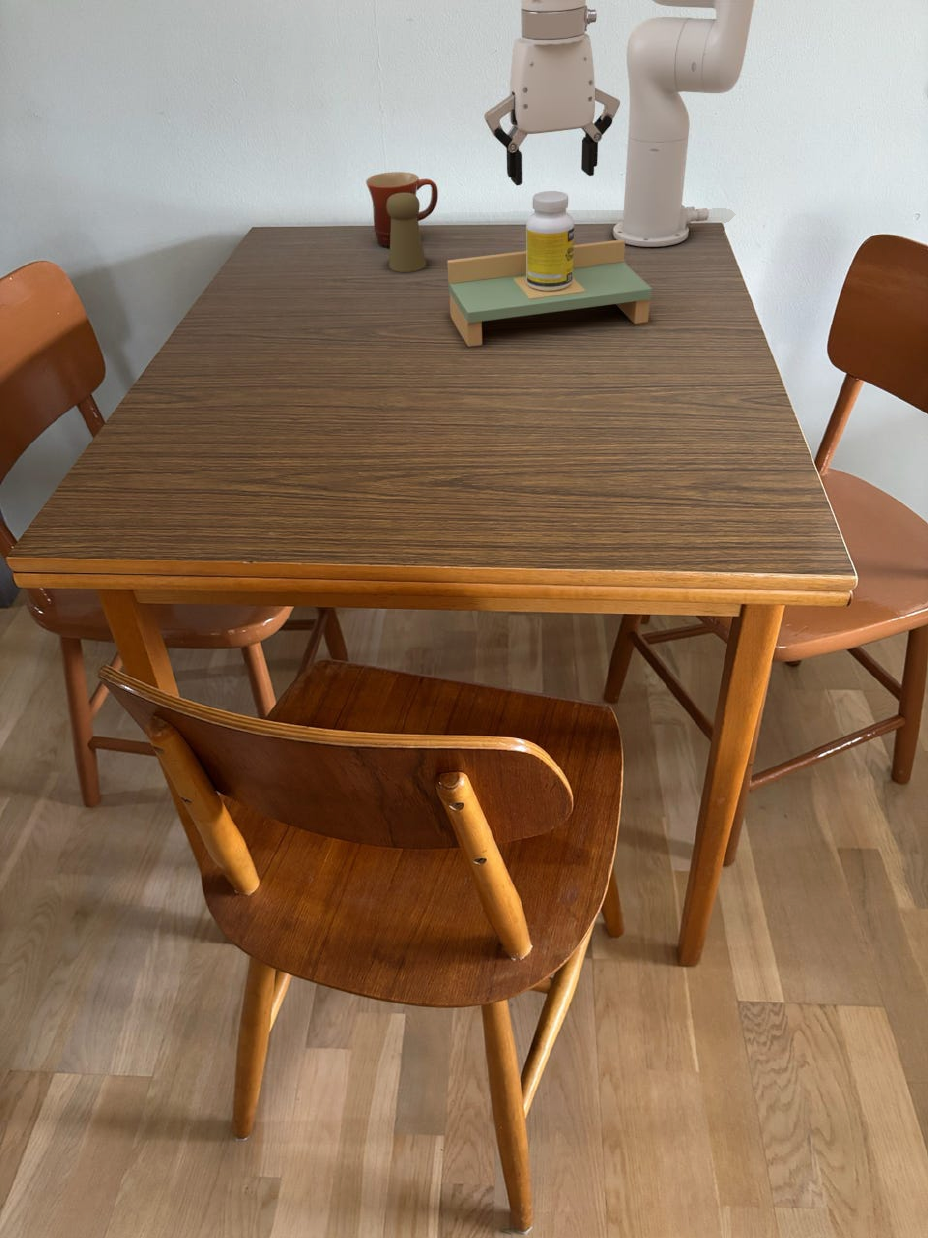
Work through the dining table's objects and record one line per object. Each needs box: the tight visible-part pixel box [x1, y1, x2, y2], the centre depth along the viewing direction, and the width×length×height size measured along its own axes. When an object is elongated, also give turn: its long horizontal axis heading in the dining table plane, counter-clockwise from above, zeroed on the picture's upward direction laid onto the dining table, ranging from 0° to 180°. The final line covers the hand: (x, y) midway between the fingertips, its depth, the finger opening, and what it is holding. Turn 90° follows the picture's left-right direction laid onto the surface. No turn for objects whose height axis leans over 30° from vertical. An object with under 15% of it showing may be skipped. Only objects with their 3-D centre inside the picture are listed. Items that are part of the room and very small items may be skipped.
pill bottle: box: [525, 190, 575, 291], centre depth 129 cm, size 6×6×12 cm
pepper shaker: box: [386, 193, 427, 273], centre depth 153 cm, size 6×6×11 cm
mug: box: [365, 171, 439, 249], centre depth 162 cm, size 12×9×10 cm
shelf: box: [446, 239, 653, 348], centre depth 134 cm, size 26×12×8 cm, turn 103°
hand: (552, 177), depth 124 cm, fingers open, 9 cm apart
